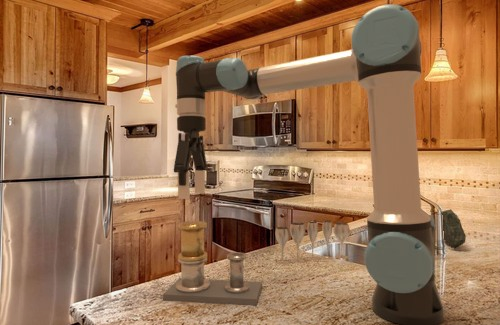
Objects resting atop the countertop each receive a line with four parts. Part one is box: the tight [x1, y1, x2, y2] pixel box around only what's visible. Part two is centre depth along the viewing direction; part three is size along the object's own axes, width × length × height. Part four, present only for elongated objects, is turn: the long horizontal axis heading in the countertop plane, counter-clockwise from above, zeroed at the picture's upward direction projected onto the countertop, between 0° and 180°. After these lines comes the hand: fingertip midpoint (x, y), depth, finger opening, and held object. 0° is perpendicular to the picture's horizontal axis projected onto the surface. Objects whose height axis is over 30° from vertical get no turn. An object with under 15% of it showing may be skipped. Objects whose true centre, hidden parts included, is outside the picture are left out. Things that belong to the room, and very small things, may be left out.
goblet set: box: [275, 220, 351, 265], centre depth 124 cm, size 28×6×13 cm, turn 106°
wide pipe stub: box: [176, 257, 210, 293], centre depth 95 cm, size 9×9×8 cm
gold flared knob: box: [177, 220, 208, 261], centre depth 94 cm, size 8×8×9 cm
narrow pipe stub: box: [225, 251, 249, 294], centre depth 93 cm, size 6×6×9 cm
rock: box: [441, 209, 467, 248], centre depth 141 cm, size 18×6×14 cm, turn 162°
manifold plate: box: [162, 277, 263, 306], centre depth 94 cm, size 24×12×2 cm, turn 81°
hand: (192, 196), depth 94 cm, fingers open, 13 cm apart
